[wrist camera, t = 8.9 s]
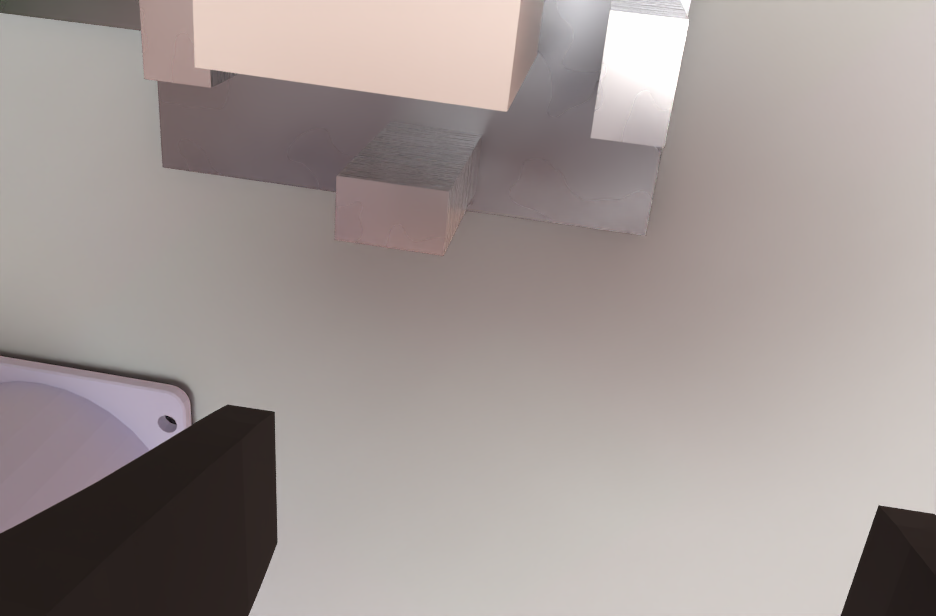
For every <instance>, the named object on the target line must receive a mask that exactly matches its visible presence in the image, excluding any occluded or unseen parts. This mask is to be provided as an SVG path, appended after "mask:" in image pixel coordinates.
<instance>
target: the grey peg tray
mask: <svg viewBox="0 0 936 616" xmlns="http://www.w3.org/2000/svg"><path fill="white" fill-rule="evenodd" d="M690 2H691V0H544V5H543V13H542V20H541V27H540V35H539V42H538V50H537V56H536V58H535V60H534V62H533V64H532V66H531V68H530V69H529V71H528V73H527V75H526V77H525V79H524V81H523V83H522V85H521V86H520V88H519V90H518V92H517V94H516V96H515V98H514V100H513V102H512V103H511V105H510V107H509V109H508V111H507V112H505V111H498V110H491V109H484V108H477V107H470V106H463V105H455V104H448V103H441V102H434V101H427V100H420V99H413V98H406V97H399V96H392V95H385V94H378V93H371V92H364V91H357V90H350V89H343V88H336V87H329V86H322V85H315V84H308V83H301V82H294V81H287V80H280V79H273V78H266V77H259V76H252V75H245V74H238V73H231V72H224V71H217V70H209V69H202V68H195V59H194V26H193V0H0V13H7V14H15V15H22V16H30V17H38V18H46V19H54V20H62V21H70V22H78V23H86V24H94V25H102V26H109V27H117V28H125V29H133V30H141V35H142V50H143V65H144V79H149V80H156V81H158V96H159V113H160V129H161V146H162V163H163V167H165V168H172V169H179V170H186V171H193V172H200V173H207V174H214V175H221V176H228V177H235V178H242V179H249V180H256V181H263V182H270V183H277V184H284V185H291V186H298V187H305V188H312V189H319V190H326V191H333V192H336V209H335V240H340V241H347V242H353V243H360V244H367V245H374V246H380V247H387V248H394V249H401V250H407V251H414V252H421V253H427V254H434V255H441V256H444V254H445V252H446V250H447V248H448V246H449V244H450V242H451V240H452V238H453V236H454V234H455V232H456V230H457V228H458V226H459V224H460V221H461V219H462V217H463V215H464V213H465V211H473V212H480V213H487V214H494V215H501V216H508V217H515V218H522V219H529V220H536V221H543V222H550V223H557V224H564V225H572V226H579V227H586V228H593V229H600V230H607V231H614V232H621V233H628V234H635V235H642V236H646V231H647V226H648V221H649V215H650V210H651V205H652V200H653V195H654V189H655V184H656V179H657V174H658V169H659V163H660V158H661V153H662V148H664V147H665V142H666V137H667V132H668V127H669V122H670V116H671V111H672V106H673V101H674V96H675V90H676V85H677V80H678V75H679V70H680V65H681V59H682V54H683V49H684V44H685V39H686V33H687V28H688V23H689V18H688V12H689V7H690Z"/></svg>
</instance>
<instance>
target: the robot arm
mask: <svg viewBox="0 0 936 616" xmlns="http://www.w3.org/2000/svg"><path fill="white" fill-rule="evenodd" d="M166 415H167V416H169V417H172V418H173V419H174V420H175V421H176V424H172V423H170V422H169V421H168V420H167V419H166V417H165V416H166ZM276 545H277V504H276V458H275V412H272V411H265V410H259V409H252V408H246V407H239V406H233V405H226V406H224V407H222V408H220V409H219V410H217V411H215V412H213V413H211V414H210V415H208V416H206V417H204V418H203V419H201V420H199V421H198V422H196V423H194V424H193V425H191V406H190V401H189V397H188V396H187V395H186V393H185V392H184V391H183V390H181V389H180V388H179V387H176V386H173V385H170V384H164V383H158V382H152V381H146V380H140V379H134V378H128V377H122V376H116V375H110V374H104V373H99V372H93V371H87V370H81V369H75V368H69V367H63V366H57V365H51V364H45V363H39V362H33V361H28V360H22V359H16V358H10V357H4V356H0V616H248V615H249V613H250V611H251V608H252V606H253V603H254V601H255V598H256V596H257V594H258V591H259V589H260V586H261V584H262V581H263V579H264V576H265V574H266V571H267V568H268V566H269V563H270V560H271V558H272V555H273V553H274V550H275V547H276ZM841 616H936V515H935V514H931V513H924V512H918V511H911V510H905V509H898V508H892V507H885V506H878V509H877V512H876V515H875V518H874V520H873V523H872V526H871V529H870V532H869V535H868V538H867V541H866V544H865V547H864V550H863V553H862V555H861V558H860V561H859V564H858V567H857V570H856V573H855V576H854V579H853V582H852V585H851V587H850V590H849V593H848V596H847V599H846V602H845V605H844V608H843V611H842V614H841Z"/></svg>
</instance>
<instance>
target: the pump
mask: <svg viewBox="0 0 936 616" xmlns="http://www.w3.org/2000/svg"><path fill="white" fill-rule="evenodd" d="M543 5H544V0H193V26H194V59H195V68H202V69H209V70H217V71H224V72H231V73H238V74H245V75H252V76H259V77H266V78H273V79H280V80H287V81H294V82H301V83H308V84H315V85H322V86H329V87H336V88H343V89H350V90H357V91H364V92H371V93H378V94H385V95H392V96H399V97H406V98H413V99H420V100H427V101H434V102H441V103H448V104H455V105H463V106H470V107H477V108H484V109H491V110H498V111H505V112H507V111H508V109H509V107H510V105H511V103H512V102H513V100H514V98H515V96H516V94H517V92H518V90H519V88H520V86H521V85H522V83H523V81H524V79H525V77H526V75H527V73H528V71H529V69H530V68H531V66H532V64H533V62H534V60H535V58H536V56H537V50H538V42H539V35H540V27H541V20H542V13H543Z"/></svg>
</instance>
